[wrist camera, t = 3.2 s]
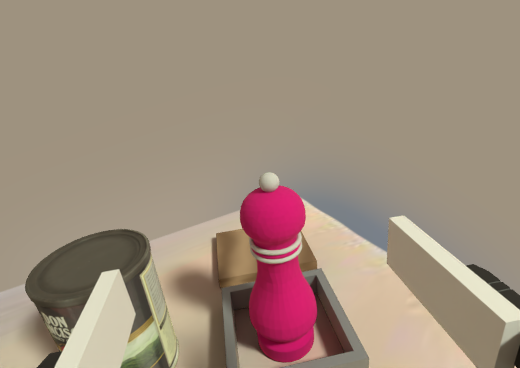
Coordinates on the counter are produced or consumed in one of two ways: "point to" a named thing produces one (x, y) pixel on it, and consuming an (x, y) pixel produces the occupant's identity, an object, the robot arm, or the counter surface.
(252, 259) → the board
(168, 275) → the counter surface
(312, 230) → the counter surface
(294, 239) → the pepper mill
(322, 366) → the holder
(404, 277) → the robot arm
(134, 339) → the coffee can
